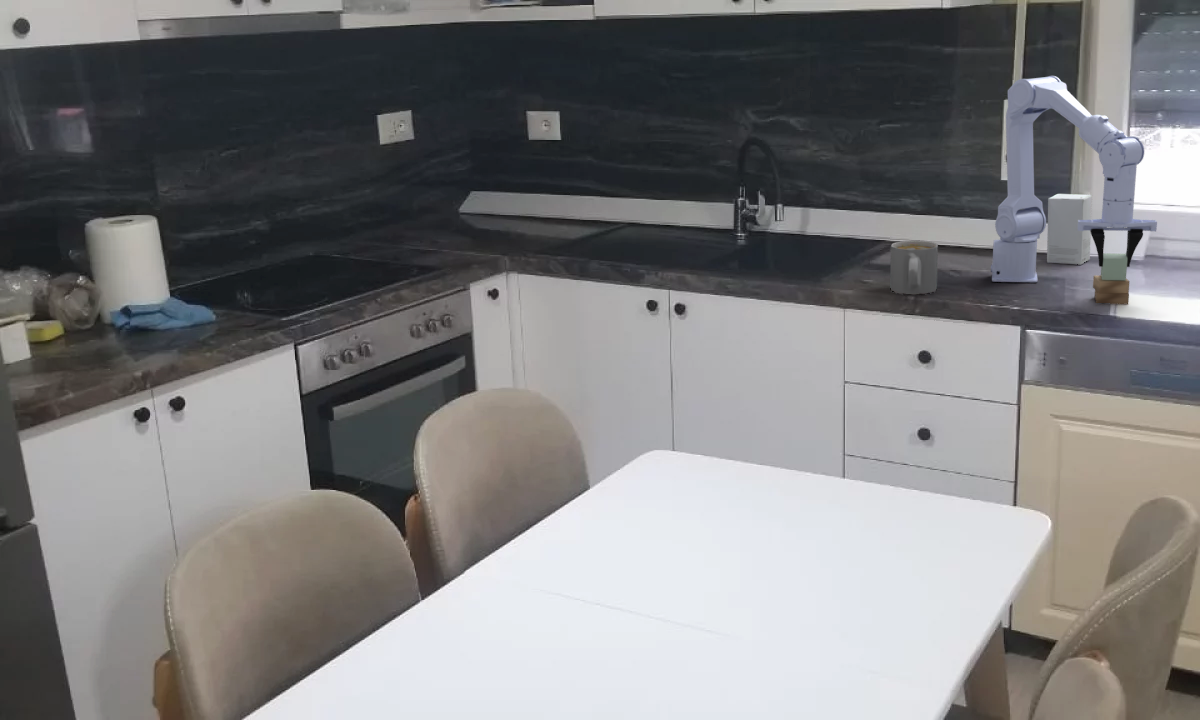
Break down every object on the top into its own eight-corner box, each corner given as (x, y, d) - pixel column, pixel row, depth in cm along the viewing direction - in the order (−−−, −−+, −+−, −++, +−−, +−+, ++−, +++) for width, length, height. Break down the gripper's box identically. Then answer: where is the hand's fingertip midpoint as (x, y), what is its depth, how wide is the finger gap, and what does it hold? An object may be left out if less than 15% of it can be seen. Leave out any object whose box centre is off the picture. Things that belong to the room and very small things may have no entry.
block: (1102, 280, 238) (1103, 258, 237) (1100, 274, 242) (1102, 253, 241) (1125, 280, 237) (1127, 258, 236) (1123, 275, 241) (1125, 253, 239)
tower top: (1099, 293, 238) (1100, 281, 238) (1092, 287, 244) (1093, 275, 243) (1128, 293, 237) (1129, 281, 237) (1121, 286, 243) (1122, 275, 242)
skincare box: (1090, 260, 276) (1094, 194, 272) (1080, 266, 271) (1084, 198, 267) (1054, 257, 282) (1058, 192, 277) (1044, 262, 277) (1047, 196, 272)
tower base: (1095, 305, 239) (1096, 293, 239) (1094, 298, 245) (1095, 286, 244) (1128, 306, 237) (1129, 294, 237) (1125, 299, 243) (1126, 287, 242)
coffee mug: (896, 283, 265) (896, 239, 262) (940, 285, 261) (942, 241, 258) (881, 297, 254) (882, 251, 251) (928, 300, 249) (929, 253, 247)
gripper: (1080, 202, 234) (1076, 269, 237) (1160, 202, 229) (1155, 270, 233) (1078, 196, 240) (1074, 262, 244) (1156, 196, 235) (1151, 263, 239)
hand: (1113, 265), depth 239 cm, fingers closed on block, 4 cm apart
